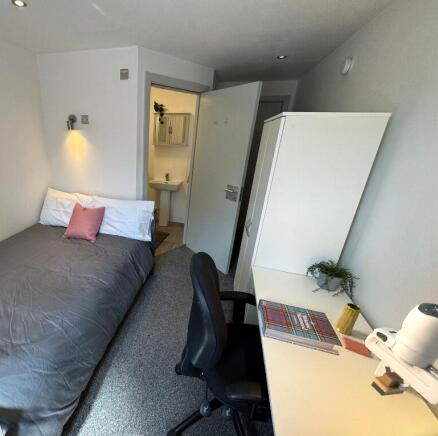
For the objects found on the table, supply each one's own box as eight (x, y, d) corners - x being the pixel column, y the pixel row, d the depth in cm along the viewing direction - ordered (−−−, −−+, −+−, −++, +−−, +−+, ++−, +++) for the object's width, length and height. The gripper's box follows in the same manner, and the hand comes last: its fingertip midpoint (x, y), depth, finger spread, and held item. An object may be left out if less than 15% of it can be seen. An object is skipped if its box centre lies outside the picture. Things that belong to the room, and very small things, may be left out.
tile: (365, 346, 102) (366, 344, 101) (368, 357, 97) (370, 355, 97) (342, 338, 106) (343, 336, 105) (345, 348, 101) (346, 346, 100)
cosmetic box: (387, 384, 87) (401, 361, 82) (372, 373, 91) (385, 351, 86) (394, 377, 89) (408, 355, 85) (380, 367, 93) (392, 345, 89)
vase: (349, 328, 111) (360, 305, 106) (352, 337, 106) (363, 313, 101) (334, 322, 114) (344, 300, 109) (335, 331, 109) (346, 307, 104)
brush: (390, 381, 78) (398, 368, 76) (403, 394, 74) (413, 381, 72) (370, 384, 77) (378, 370, 75) (382, 396, 73) (391, 383, 71)
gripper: (469, 385, 60) (442, 417, 65) (385, 323, 79) (369, 352, 84) (449, 388, 59) (424, 420, 64) (369, 325, 78) (354, 353, 83)
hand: (392, 381), depth 74 cm, fingers closed on brush, 2 cm apart
